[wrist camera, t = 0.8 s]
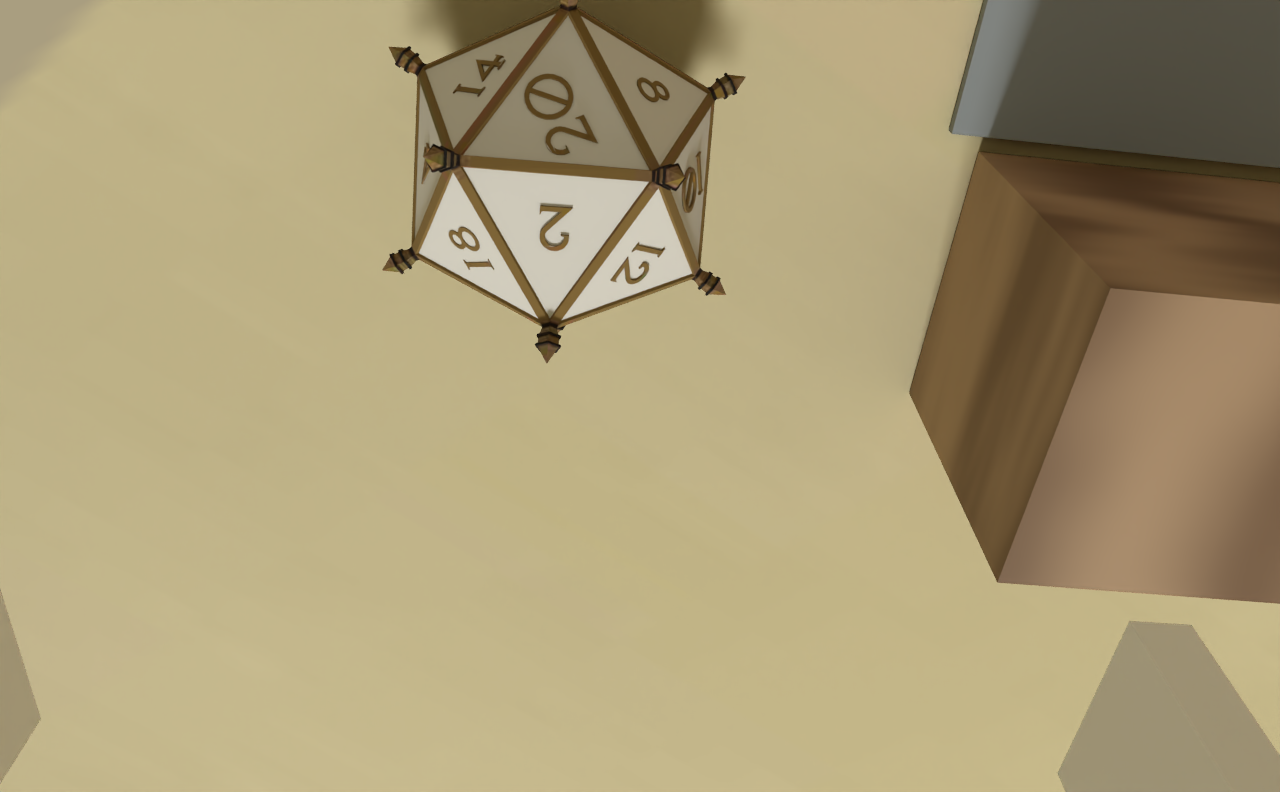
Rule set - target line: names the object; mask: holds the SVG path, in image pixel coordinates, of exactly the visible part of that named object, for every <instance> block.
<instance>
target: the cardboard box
mask: <svg viewBox="0 0 1280 792" xmlns="http://www.w3.org/2000/svg"><path fill="white" fill-rule="evenodd" d="M909 394H910V396H911V398H912V400H913V402H914V404H915V407H916V409H917V411H918V413H919V415H920V417H921V419H922V422H923V424H924V426H925V428H926V430H927V432H928V434H929V437H930V439H931V441H932V443H933V445H934V447H935V450H936V452H937V454H938V456H939V458H940V460H941V462H942V465H943V467H944V469H945V471H946V473H947V475H948V477H949V480H950V482H951V484H952V486H953V488H954V490H955V492H956V495H957V497H958V499H959V501H960V503H961V505H962V507H963V510H964V512H965V514H966V516H967V518H968V520H969V522H970V525H971V527H972V529H973V531H974V533H975V535H976V537H977V540H978V542H979V544H980V546H981V548H982V550H983V553H984V555H985V557H986V559H987V561H988V563H989V565H990V568H991V570H992V572H993V574H994V576H995V578H996V580H997V582H998V583H1011V584H1025V585H1038V586H1052V587H1065V588H1078V589H1092V590H1105V591H1118V592H1132V593H1145V594H1159V595H1172V596H1185V597H1199V598H1212V599H1226V600H1239V601H1252V602H1266V603H1279V604H1280V183H1278V182H1268V181H1258V180H1249V179H1239V178H1229V177H1220V176H1210V175H1200V174H1191V173H1181V172H1171V171H1162V170H1152V169H1142V168H1132V167H1123V166H1113V165H1103V164H1094V163H1084V162H1074V161H1065V160H1055V159H1045V158H1036V157H1026V156H1016V155H1006V154H997V153H987V152H978V156H977V159H976V163H975V166H974V170H973V173H972V177H971V180H970V184H969V187H968V191H967V194H966V198H965V201H964V205H963V208H962V212H961V215H960V219H959V222H958V226H957V229H956V233H955V236H954V240H953V243H952V247H951V250H950V253H949V257H948V260H947V264H946V267H945V271H944V274H943V278H942V281H941V285H940V288H939V292H938V295H937V299H936V302H935V306H934V309H933V313H932V316H931V320H930V323H929V327H928V330H927V334H926V337H925V341H924V344H923V348H922V351H921V354H920V358H919V361H918V365H917V368H916V372H915V375H914V379H913V382H912V386H911V389H910V393H909Z"/></svg>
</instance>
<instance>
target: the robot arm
mask: <svg viewBox="0 0 1280 792" xmlns="http://www.w3.org/2000/svg"><path fill="white" fill-rule="evenodd" d="M40 719H41V718H40V715H39V711H38V708H37V705H36V702H35V699H34V695H33V692H32V689H31V686H30V683H29V679H28V676H27V673H26V670H25V667H24V663H23V660H22V657H21V654H20V651H19V647H18V644H17V641H16V638H15V635H14V632H13V628H12V625H11V622H10V619H9V616H8V612H7V609H6V606H5V603H4V600H3V596H2V593H1V590H0V783H1V782H2V780H3V778H4V777H5V775H6V774H7V772H8V771H9V769H10V767H11V766H12V764H13V763H14V761H15V759H16V758H17V756H18V755H19V753H20V751H21V750H22V748H23V747H24V745H25V743H26V742H27V740H28V739H29V737H30V735H31V734H32V732H33V731H34V729H35V727H36V726H37V724H38V723H39V721H40ZM1058 775H1059V778H1060V780H1061V782H1062V784H1063V787H1064V789H1065V791H1066V792H1280V755H1279V754H1278V752H1277V751H1276V749H1275V748H1274V746H1273V745H1272V743H1271V742H1270V740H1269V739H1268V737H1267V736H1266V734H1265V733H1264V732H1263V730H1262V729H1261V727H1260V726H1259V724H1258V723H1257V721H1256V720H1255V718H1254V717H1253V715H1252V714H1251V712H1250V711H1249V709H1248V708H1247V706H1246V705H1245V703H1244V702H1243V700H1242V699H1241V697H1240V696H1239V695H1238V693H1237V692H1236V690H1235V689H1234V687H1233V686H1232V684H1231V683H1230V681H1229V680H1228V678H1227V677H1226V675H1225V674H1224V672H1223V671H1222V669H1221V668H1220V666H1219V665H1218V663H1217V662H1216V660H1215V659H1214V658H1213V656H1212V655H1211V653H1210V652H1209V650H1208V649H1207V647H1206V646H1205V644H1204V643H1203V641H1202V640H1201V638H1200V637H1199V635H1198V634H1197V632H1196V631H1195V629H1194V628H1193V626H1192V625H1184V624H1168V623H1152V622H1137V621H1129V623H1128V625H1127V627H1126V630H1125V632H1124V634H1123V636H1122V638H1121V640H1120V642H1119V644H1118V646H1117V649H1116V651H1115V653H1114V655H1113V657H1112V659H1111V661H1110V663H1109V666H1108V668H1107V670H1106V672H1105V674H1104V676H1103V678H1102V680H1101V682H1100V685H1099V687H1098V689H1097V691H1096V693H1095V695H1094V697H1093V699H1092V702H1091V704H1090V706H1089V708H1088V710H1087V712H1086V714H1085V716H1084V718H1083V721H1082V723H1081V725H1080V727H1079V729H1078V731H1077V733H1076V735H1075V738H1074V740H1073V742H1072V744H1071V746H1070V748H1069V750H1068V752H1067V754H1066V757H1065V759H1064V761H1063V763H1062V765H1061V767H1060V769H1059V771H1058Z"/></svg>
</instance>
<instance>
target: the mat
mask: <svg viewBox="0 0 1280 792" xmlns="http://www.w3.org/2000/svg"><path fill="white" fill-rule="evenodd" d="M949 131H950V132H951V133H952V134H959V135H969V136H979V137H988V138H998V139H1007V140H1017V141H1027V142H1036V143H1046V144H1055V145H1065V146H1075V147H1084V148H1094V149H1103V150H1113V151H1123V152H1132V153H1142V154H1151V155H1161V156H1171V157H1180V158H1190V159H1199V160H1209V161H1219V162H1228V163H1238V164H1247V165H1257V166H1267V167H1276V168H1280V0H984V1H983V5H982V9H981V13H980V16H979V20H978V24H977V28H976V31H975V35H974V39H973V42H972V46H971V50H970V54H969V57H968V61H967V65H966V69H965V72H964V76H963V80H962V83H961V87H960V91H959V95H958V98H957V102H956V106H955V110H954V113H953V117H952V121H951V124H950V128H949Z"/></svg>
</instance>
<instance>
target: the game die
mask: <svg viewBox="0 0 1280 792" xmlns="http://www.w3.org/2000/svg"><path fill="white" fill-rule="evenodd" d="M577 2H578V0H560V3H561V5H560V6H559V7H556V8H554V9H552V10H549V11H547V12H545V13H543V14H540V15H538V16H536V17H534V18H531V19H529V20H527V21H524V22H522V23H520V24H518V25H515V26H513V27H511V28H509V29H506V30H504V31H502V32H499V33H497V34H495V35H493V36H490V37H488V38H486V39H484V40H481V41H479V42H477V43H474V44H472V45H470V46H468V47H465V48H463V49H461V50H459V51H456V52H454V53H452V54H449V55H447V56H445V57H443V58H440V59H438V60H436V61H434V62H431V63H429V64H424V63H423V62H422V61H421V60H420V58H419V57H418V56H419V54H418V53H416V54H415V53H414V52H412V51H411V50H410V49H411V47H410V46H409V47H407V48H400V47H389V49H390V51H391V53H392V55H393V57H394V59H395V61H396V63H395V65H396V66H398V67H399V68H400V67H403V68H404V71H406V72H407V73H409V72H411V73H413V74H416V75H417V105H416V134H415V163H414V192H413V221H412V247H411V248H410V249H408V250H403V249H400V250H398V253H396V254H394V253H392V254H390V258H389V260H388V261H387V263H386V265H385V267H384V268H383V271H394V272H400V273H401V274H403V273H404V272H403V271H404V270H405V269H407V268H409V269H411V268H412V266H411V265H412V264H413V263H414V262H415V261H416V260H421V261H423V262H425V263H427V264H428V265H430V266H432V267H434V268H436V269H438V270H439V271H441V272H443V273H445V274H447V275H449V276H450V277H452V278H454V279H456V280H458V281H460V282H461V283H463V284H465V285H467V286H469V287H470V288H472V289H474V290H476V291H478V292H480V293H481V294H483V295H485V296H487V297H489V298H491V299H492V300H494V301H496V302H498V303H500V304H502V305H503V306H505V307H507V308H509V309H511V310H513V311H514V312H516V313H518V314H520V315H522V316H524V317H525V318H527V319H529V320H531V321H533V322H534V323H536V324H538V325H540V326H542V329H541V332H540V333H539V334H537V337H538V343H536V344H535V346H536V347H537V348H538V350H539V351H540V352H541V353H542V355H543V357H544V359H545V361H546V363H548V361H549V360H550V358H551V357H552V356H553V354H554V353H556V352H557V351H558V350H559V349H560V347H561V345H559V339H560V338H561V336H560V335H558V332H559V331H560V330H563V329H564V327H565V325H567V324H570V323H573V322H576V321H578V320H581V319H584V318H587V317H589V316H592V315H595V314H598V313H600V312H603V311H606V310H609V309H611V308H614V307H617V306H619V305H622V304H625V303H628V302H630V301H633V300H636V299H639V298H641V297H644V296H647V295H650V294H652V293H655V292H658V291H661V290H663V289H666V288H669V287H672V286H674V285H677V284H680V283H682V282H685V281H688V280H691V279H692V280H694V281H695V282H696V283H697V285H698V286H699V287H698V289H699V290H700V289H702V290H703V291H705V292H706V294H705V295H706V296H707V295H708V294H716V295H726V294H725V291H724V289H723V287H722V285H721V282H720V278H719V277H714V276H713V275H712V274H713V273H711V272H710V271H709V273H708V272H705V271H703V270H702V269H701V268H700V264H701V252H702V241H703V229H704V217H705V206H706V194H707V183H708V171H709V160H710V148H711V136H712V125H713V113H714V102H715V100H716V99H720V98H724V99H726V98H727V97H728V96H729V95H731V94H733V95H735V94H736V93H737V89H738V88H739V86H740V85H741V83H742V82H743V80H744V79H745V77H744V76H734V75H728V74H727V73H725V74H724V75H725V76H724V77H722V78H721V79H718V78H717V79H716V82H715V83H714V84H713V85H712V86H711V87H708V88H707V87H705V86H704V85H702V84H701V83H699V82H697V81H696V80H694V79H693V78H691V77H689V76H688V75H686V74H684V73H683V72H681V71H680V70H678V69H676V68H675V67H673V66H671V65H670V64H668V63H667V62H665V61H663V60H662V59H660V58H659V57H657V56H655V55H654V54H652V53H650V52H649V51H647V50H646V49H644V48H642V47H641V46H639V45H637V44H636V43H634V42H633V41H631V40H629V39H628V38H626V37H624V36H623V35H621V34H620V33H618V32H616V31H615V30H613V29H612V28H610V27H608V26H607V25H605V24H603V23H602V22H600V21H599V20H597V19H595V18H594V17H592V16H590V15H589V14H587V13H586V12H584V11H582V10H581V9H579V8H577V6H576V4H577Z"/></svg>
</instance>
